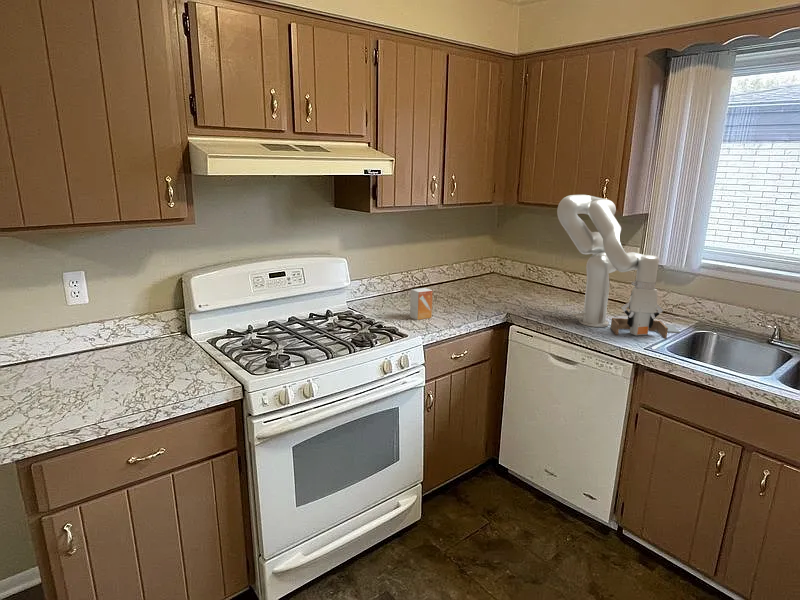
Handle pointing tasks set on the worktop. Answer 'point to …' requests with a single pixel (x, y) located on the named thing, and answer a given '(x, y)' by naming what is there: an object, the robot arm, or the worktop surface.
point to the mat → (671, 329)
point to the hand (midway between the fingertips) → (639, 326)
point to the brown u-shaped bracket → (622, 324)
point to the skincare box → (640, 323)
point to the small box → (421, 303)
